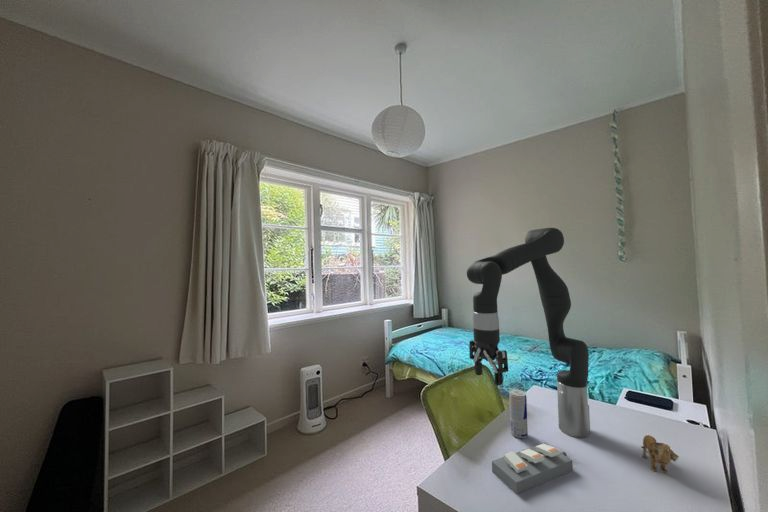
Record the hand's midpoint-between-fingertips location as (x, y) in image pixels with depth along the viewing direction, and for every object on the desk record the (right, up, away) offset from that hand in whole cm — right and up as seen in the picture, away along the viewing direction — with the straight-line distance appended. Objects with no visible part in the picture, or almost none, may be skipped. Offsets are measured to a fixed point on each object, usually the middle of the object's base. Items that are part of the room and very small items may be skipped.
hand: (488, 379), depth 87 cm
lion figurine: (+50, -25, -2) cm, 56 cm away
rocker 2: (+18, -22, -1) cm, 29 cm away
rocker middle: (+12, -22, -3) cm, 26 cm away
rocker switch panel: (+13, -26, -3) cm, 29 cm away
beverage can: (+16, -26, +15) cm, 34 cm away
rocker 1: (+6, -22, -5) cm, 24 cm away
